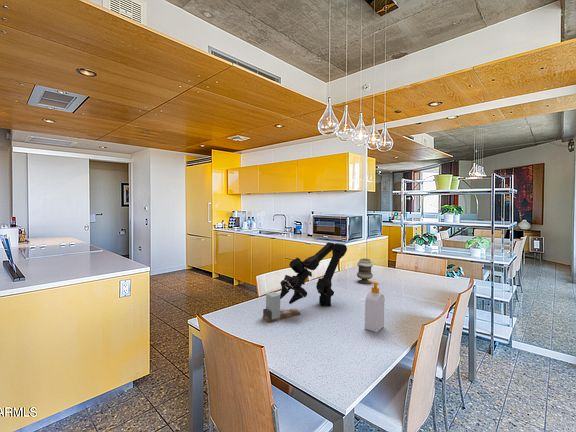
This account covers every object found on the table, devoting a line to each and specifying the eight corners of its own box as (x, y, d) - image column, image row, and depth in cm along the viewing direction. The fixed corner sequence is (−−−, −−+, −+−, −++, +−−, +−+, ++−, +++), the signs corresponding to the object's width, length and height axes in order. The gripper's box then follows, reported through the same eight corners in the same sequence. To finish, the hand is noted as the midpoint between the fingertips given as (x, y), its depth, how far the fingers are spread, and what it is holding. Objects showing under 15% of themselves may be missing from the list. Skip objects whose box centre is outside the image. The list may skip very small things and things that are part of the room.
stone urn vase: (356, 283, 219) (356, 260, 218) (357, 279, 230) (357, 257, 230) (372, 285, 215) (373, 261, 215) (372, 281, 227) (373, 258, 226)
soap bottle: (370, 322, 148) (371, 278, 147) (383, 326, 143) (385, 281, 142) (362, 328, 141) (364, 282, 140) (376, 333, 136) (378, 285, 135)
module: (273, 313, 155) (274, 292, 155) (280, 317, 151) (280, 295, 150) (265, 315, 153) (266, 293, 152) (271, 319, 148) (272, 296, 147)
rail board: (292, 310, 164) (293, 301, 163) (300, 314, 158) (300, 305, 158) (262, 318, 152) (262, 308, 152) (269, 322, 146) (269, 313, 146)
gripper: (283, 266, 165) (266, 288, 159) (303, 272, 150) (285, 297, 144) (293, 277, 170) (278, 299, 164) (314, 285, 155) (298, 309, 149)
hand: (284, 301), depth 155 cm, fingers open, 9 cm apart
